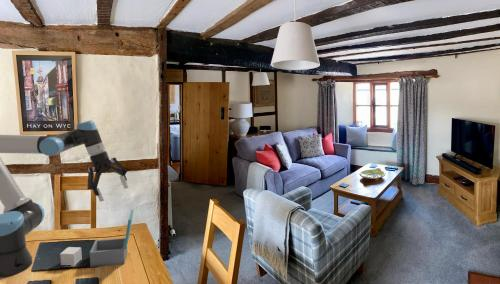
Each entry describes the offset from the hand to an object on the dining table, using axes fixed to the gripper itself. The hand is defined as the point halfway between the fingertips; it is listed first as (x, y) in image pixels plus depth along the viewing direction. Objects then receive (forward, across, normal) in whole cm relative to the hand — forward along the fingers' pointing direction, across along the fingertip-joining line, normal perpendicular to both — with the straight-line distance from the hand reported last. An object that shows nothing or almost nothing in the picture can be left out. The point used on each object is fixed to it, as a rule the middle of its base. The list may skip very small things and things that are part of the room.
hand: (114, 194), depth 152 cm
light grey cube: (+22, -25, +11) cm, 35 cm away
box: (+26, -13, +1) cm, 30 cm away
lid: (+16, -5, -8) cm, 18 cm away
